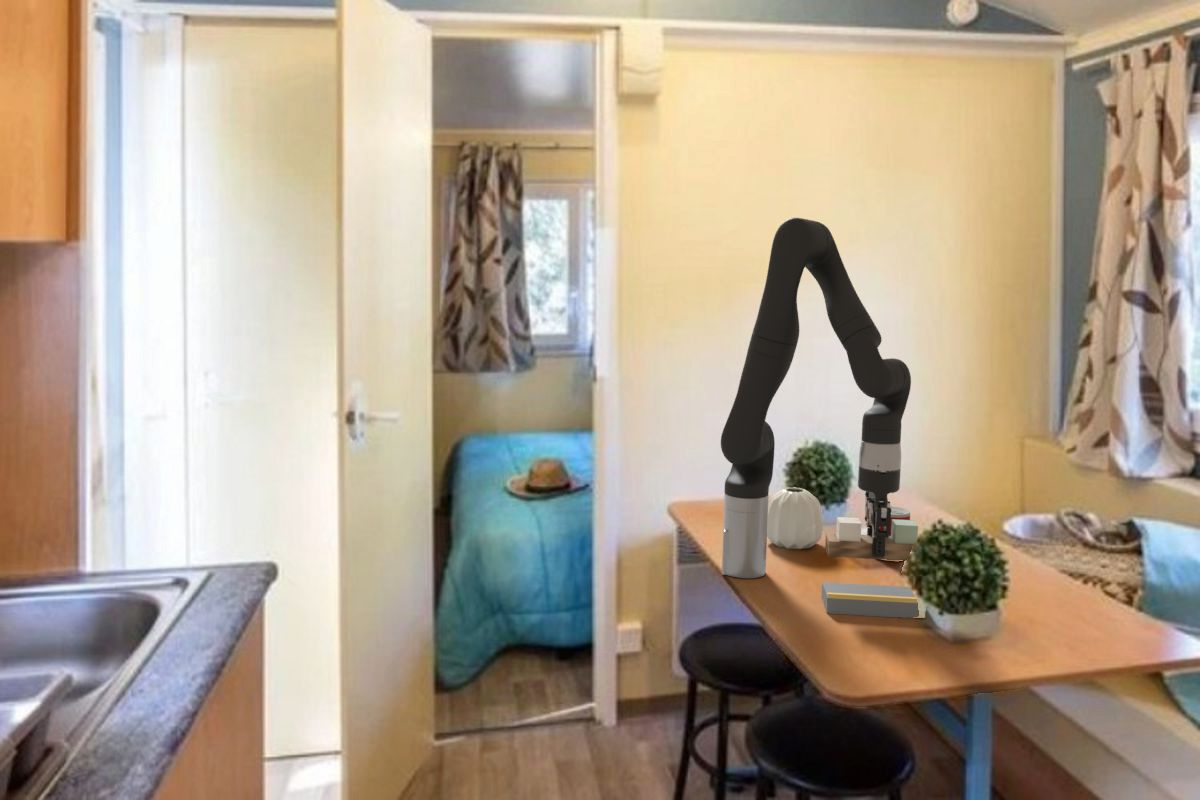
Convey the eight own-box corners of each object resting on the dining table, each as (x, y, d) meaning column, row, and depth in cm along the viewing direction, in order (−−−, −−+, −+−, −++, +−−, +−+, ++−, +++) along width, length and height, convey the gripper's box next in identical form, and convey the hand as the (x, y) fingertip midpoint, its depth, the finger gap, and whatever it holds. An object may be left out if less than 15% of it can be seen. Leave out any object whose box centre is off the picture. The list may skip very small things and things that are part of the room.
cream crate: (838, 540, 169) (839, 522, 168) (836, 534, 173) (836, 517, 172) (860, 541, 168) (861, 523, 168) (857, 535, 172) (858, 518, 172)
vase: (751, 540, 215) (753, 486, 213) (798, 534, 221) (801, 481, 219) (786, 556, 202) (788, 499, 201) (835, 549, 208) (838, 493, 206)
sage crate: (894, 543, 168) (895, 525, 167) (890, 537, 172) (891, 519, 171) (917, 544, 167) (918, 525, 167) (912, 537, 171) (913, 520, 171)
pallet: (828, 556, 169) (829, 541, 168) (825, 548, 174) (825, 533, 174) (927, 561, 166) (928, 545, 166) (920, 552, 172) (921, 537, 171)
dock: (826, 613, 168) (827, 593, 168) (821, 596, 177) (822, 578, 177) (925, 619, 166) (927, 599, 166) (915, 601, 175) (916, 583, 174)
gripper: (853, 456, 175) (849, 540, 178) (865, 472, 161) (860, 562, 164) (893, 458, 174) (888, 542, 177) (908, 473, 160) (903, 564, 163)
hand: (875, 551), depth 170 cm, fingers closed on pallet, 5 cm apart
